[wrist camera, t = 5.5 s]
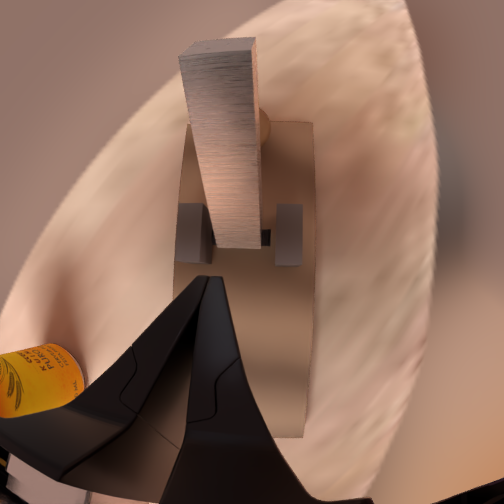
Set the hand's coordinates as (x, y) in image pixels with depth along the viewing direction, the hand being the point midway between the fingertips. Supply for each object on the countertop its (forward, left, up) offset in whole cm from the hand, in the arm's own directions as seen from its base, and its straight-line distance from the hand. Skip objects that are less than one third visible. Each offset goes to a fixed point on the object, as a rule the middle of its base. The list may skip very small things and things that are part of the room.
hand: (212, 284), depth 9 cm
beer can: (+2, +19, -11) cm, 21 cm away
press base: (0, 0, -10) cm, 10 cm away
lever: (+2, -2, -8) cm, 8 cm away
